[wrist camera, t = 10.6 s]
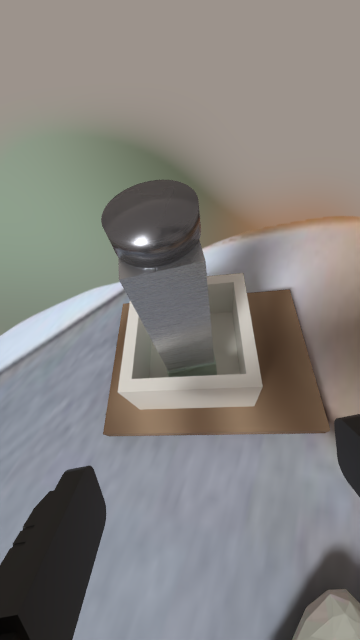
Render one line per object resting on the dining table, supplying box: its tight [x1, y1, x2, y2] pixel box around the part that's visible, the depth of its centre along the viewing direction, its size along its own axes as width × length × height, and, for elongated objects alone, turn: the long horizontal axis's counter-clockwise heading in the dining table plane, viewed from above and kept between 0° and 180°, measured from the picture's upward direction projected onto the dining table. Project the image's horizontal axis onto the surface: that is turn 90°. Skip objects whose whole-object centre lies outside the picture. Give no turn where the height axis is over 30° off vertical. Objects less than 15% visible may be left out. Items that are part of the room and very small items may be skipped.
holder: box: [118, 273, 263, 410], centre depth 19 cm, size 9×9×5 cm
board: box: [103, 290, 330, 436], centre depth 21 cm, size 16×12×1 cm
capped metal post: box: [101, 180, 217, 377], centre depth 15 cm, size 4×4×13 cm
